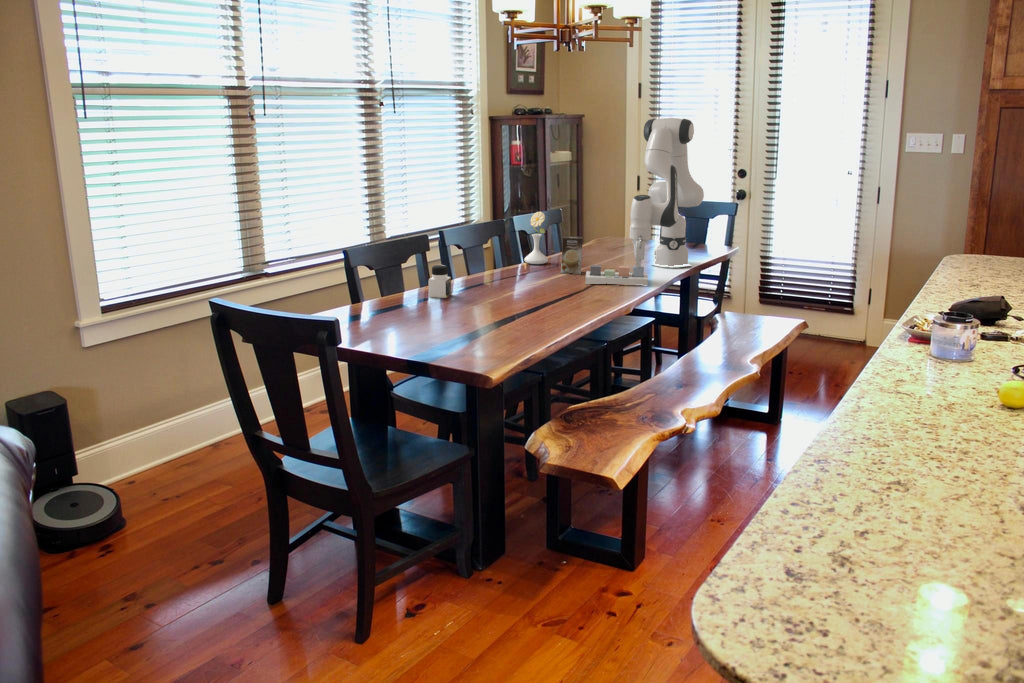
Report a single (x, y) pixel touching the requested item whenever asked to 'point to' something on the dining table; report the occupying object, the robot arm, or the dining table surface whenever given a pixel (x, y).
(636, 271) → the key slate
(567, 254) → the coffee box
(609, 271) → the key sage
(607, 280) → the keypad
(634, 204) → the robot arm
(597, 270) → the key charcoal
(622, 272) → the key terracotta
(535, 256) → the flower in vase
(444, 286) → the medicine bottle
